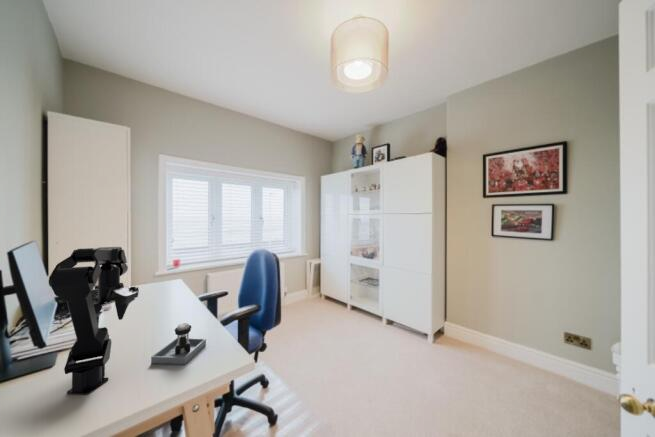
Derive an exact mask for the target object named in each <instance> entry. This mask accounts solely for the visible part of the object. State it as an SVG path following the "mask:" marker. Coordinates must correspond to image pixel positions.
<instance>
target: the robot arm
mask: <svg viewBox="0 0 655 437" xmlns="http://www.w3.org/2000/svg"><path fill="white" fill-rule="evenodd" d="M79 263H93V264H94V265H93V266H78V267H77V265H78V264H79ZM126 263H127V257H126V254H125V250H124V249H123V248H122V246H112V247H111V246H106V247H105V246H104V247H103V246H102V247H100V246H99V247H97V248H95V247H93V248H92V247H91V248H88V247H87V248H86V247H85V248H78V249H74V250H73V251H72V253H71V254H70V256H68V257H67V258H65V259H63V260H62V261H60V262H58V263H57V264H56V265H55V267H54V268H53V270H52V272H51V274H50V275H49V277H48V286H49V287H51V290H52V293H53V294H54V295H55V296H56V297H58V298H59V299H62V300H64V301H66V303H67V307H68V311H69V315H70V318H71V322H72V326H73V330H74V334H75V337H76V339H75V341H74V343H73V345H72V346H71V348H70V351H69V352H68V354H67V355H68V356H67V359H66V363H65V366H64V367H63V368H64V369H63V371H64V374H65V375H68V374H71V388H70V389H68V390H67V391H66V394H68V395H89V394H90V393H92V392H93V391H95V390H96V389H98V388H99V387H100V386H102V385H103V384H104V383H106V382H107V381H109V378H110V377H105V375H106V367H105V366H106V364H107V363H108V362H109V360H110V356H111V351H112V349H111V348H112V339H111V338H110V335H109V331H108V328H107V326H105V327H99V323H100V315H101V314H103V311H101V310H103V307H105V306H106V305H107V306H108V305H109V304H112V303H114V305H115V309H116V315H117V318H118V320H119V321H122V320H123V318H124V317H125V315H126V311H127V309H128V307H129V305H130V304H131V303H132V302H133V301H135V300H136V298H138V297H139V292H140V291H139V286H137V285H133V286H131V287H126V288H125V287H124V286H125V285H124V283H123V282H121V281H120V280H121V278H120V277H121V276H123V275H124V274H126V273H127V271H128V269H129V266H128V265H127V264H126ZM97 282H98V283H97ZM96 284H97V285H96ZM93 289H94V290H97V296H95V297H94V300H93V296H92V295H93V294H92V291H93ZM94 301H95V302H94Z"/></svg>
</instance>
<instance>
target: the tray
mask: <svg viewBox="0 0 655 437" xmlns="http://www.w3.org/2000/svg"><path fill="white" fill-rule="evenodd" d="M186 342H187V337H186ZM189 343H190V352H189V353H184V354H177V355H176V354H175V353H172V354H170V353H171V352H175V351H172V350H174V349H175V348H176V345H177V337H176V338H175V339H173V340H172V341H171V342H169V343H168V344H167V345H165V346H164V347H162V349H160V350H159V351H157V352H155V353H154V354H153V355H152V356H151V357H150V361H151V362H150V364H151V365H163V366H164V365H167V366H169V365H171V366H185V365H187V364H188V363H189V362H190V360H192V359H193V358H195V356H196V355H197V354H198V353H199V352H201V350H203V348H204V347H206V346H207V338H193V337H192V338H190V337H189ZM179 345H180V344H179ZM170 350H171V351H170Z"/></svg>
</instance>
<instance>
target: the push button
mask: <svg viewBox="0 0 655 437" xmlns="http://www.w3.org/2000/svg"><path fill="white" fill-rule="evenodd" d="M191 330H192V325H191V324H189V323H181V324H178V325H177V327H176V328H175V329H174V332H175V333H174V334H175V335H177V337H176V338H177V345H176V348H175V349H174V350H172V351H175V352H171V353H170V354H172V353H175V354H176V355H177V354H184V353H189V352H190V343H189V338H190V337H189V333H190V332H191ZM186 338H187V342H186ZM179 344H180V345H179ZM170 351H171V350H170Z"/></svg>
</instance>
